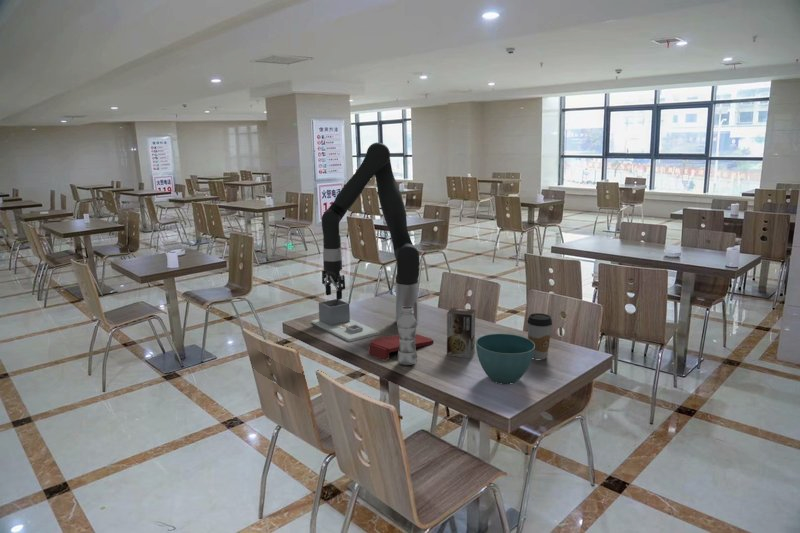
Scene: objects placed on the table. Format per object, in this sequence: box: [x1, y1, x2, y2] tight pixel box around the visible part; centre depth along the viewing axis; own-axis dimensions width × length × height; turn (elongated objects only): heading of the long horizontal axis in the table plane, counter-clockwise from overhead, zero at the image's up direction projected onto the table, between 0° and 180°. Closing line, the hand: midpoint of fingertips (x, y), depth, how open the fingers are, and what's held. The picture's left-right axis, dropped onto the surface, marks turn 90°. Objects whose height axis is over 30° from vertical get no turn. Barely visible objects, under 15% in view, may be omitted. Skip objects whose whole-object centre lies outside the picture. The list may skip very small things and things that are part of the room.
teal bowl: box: [475, 333, 535, 385], centre depth 175 cm, size 18×18×12 cm
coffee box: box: [446, 307, 476, 359], centre depth 196 cm, size 9×6×16 cm
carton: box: [368, 333, 434, 361], centre depth 204 cm, size 12×5×25 cm
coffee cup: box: [527, 312, 553, 360], centre depth 193 cm, size 8×8×15 cm
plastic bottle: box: [396, 306, 418, 366], centre depth 187 cm, size 6×7×20 cm
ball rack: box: [311, 298, 380, 342], centre depth 224 cm, size 29×14×9 cm, turn 38°
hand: (333, 296), depth 228 cm, fingers open, 8 cm apart
